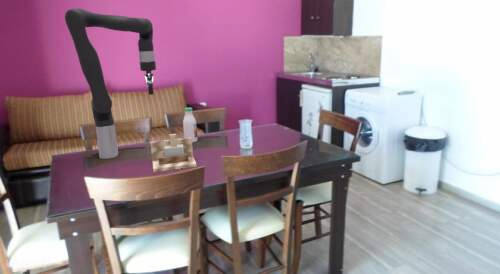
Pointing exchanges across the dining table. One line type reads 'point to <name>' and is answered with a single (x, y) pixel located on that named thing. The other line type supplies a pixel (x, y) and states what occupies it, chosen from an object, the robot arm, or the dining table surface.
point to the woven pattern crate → (175, 161)
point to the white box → (173, 147)
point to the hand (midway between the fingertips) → (151, 93)
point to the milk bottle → (189, 125)
